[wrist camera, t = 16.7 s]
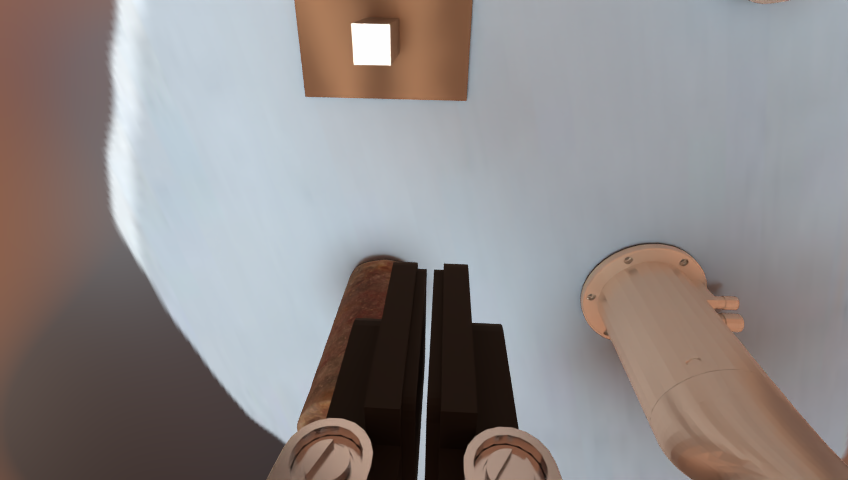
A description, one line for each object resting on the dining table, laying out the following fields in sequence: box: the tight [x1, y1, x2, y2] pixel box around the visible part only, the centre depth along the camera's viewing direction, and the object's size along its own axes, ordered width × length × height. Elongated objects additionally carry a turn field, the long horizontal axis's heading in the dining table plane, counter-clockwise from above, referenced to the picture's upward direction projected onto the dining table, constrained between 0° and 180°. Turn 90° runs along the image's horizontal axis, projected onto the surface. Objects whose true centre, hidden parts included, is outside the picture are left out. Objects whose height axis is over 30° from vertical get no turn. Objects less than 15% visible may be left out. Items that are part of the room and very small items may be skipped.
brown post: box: [351, 17, 400, 66], centre depth 33 cm, size 3×3×6 cm
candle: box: [297, 260, 397, 431], centre depth 41 cm, size 8×7×20 cm
